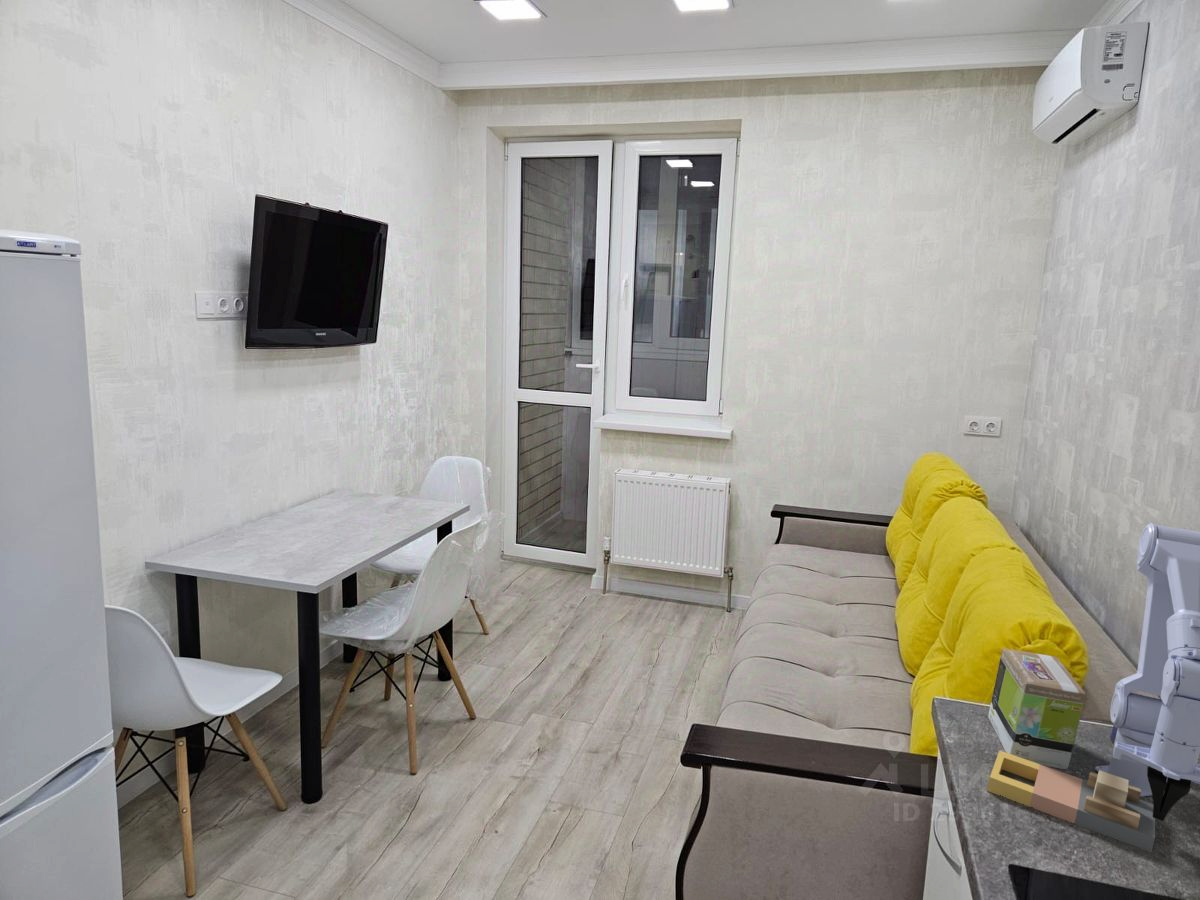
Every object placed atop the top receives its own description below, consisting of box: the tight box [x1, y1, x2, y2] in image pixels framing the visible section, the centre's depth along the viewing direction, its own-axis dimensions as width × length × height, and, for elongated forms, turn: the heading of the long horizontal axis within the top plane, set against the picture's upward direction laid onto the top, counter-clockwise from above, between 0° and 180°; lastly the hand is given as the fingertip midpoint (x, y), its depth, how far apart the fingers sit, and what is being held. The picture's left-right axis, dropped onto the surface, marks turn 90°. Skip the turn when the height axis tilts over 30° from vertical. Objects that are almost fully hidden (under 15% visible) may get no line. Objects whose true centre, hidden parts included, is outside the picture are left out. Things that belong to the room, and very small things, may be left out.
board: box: [986, 750, 1156, 853], centre depth 130 cm, size 22×10×2 cm, turn 56°
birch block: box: [1093, 770, 1129, 808], centre depth 127 cm, size 4×4×4 cm
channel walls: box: [1084, 771, 1141, 829], centre depth 127 cm, size 7×9×2 cm
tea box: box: [987, 648, 1086, 770], centre depth 147 cm, size 15×10×15 cm, turn 168°
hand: (1158, 816), depth 124 cm, fingers closed
